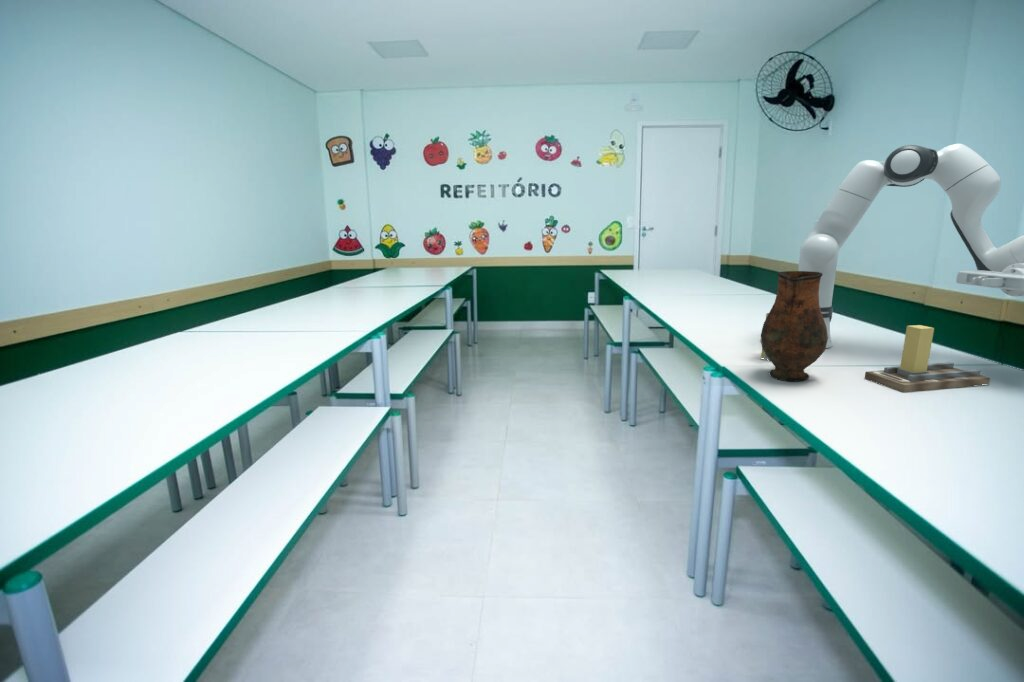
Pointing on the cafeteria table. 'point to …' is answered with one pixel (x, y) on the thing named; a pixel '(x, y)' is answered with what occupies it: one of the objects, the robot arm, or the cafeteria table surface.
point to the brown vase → (795, 326)
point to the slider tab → (916, 350)
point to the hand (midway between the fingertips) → (977, 281)
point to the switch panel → (928, 378)
